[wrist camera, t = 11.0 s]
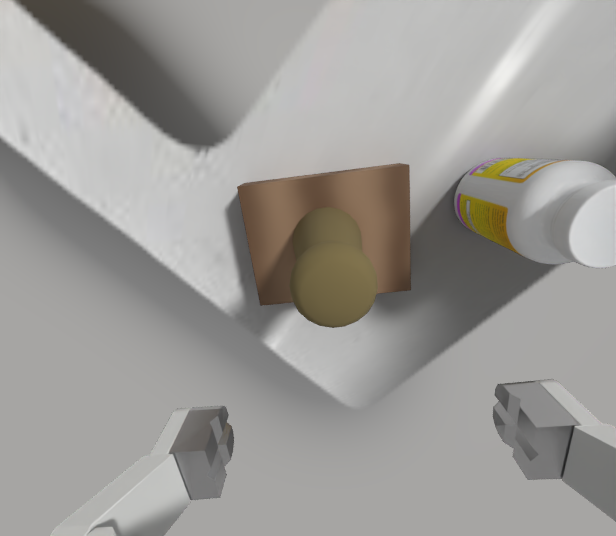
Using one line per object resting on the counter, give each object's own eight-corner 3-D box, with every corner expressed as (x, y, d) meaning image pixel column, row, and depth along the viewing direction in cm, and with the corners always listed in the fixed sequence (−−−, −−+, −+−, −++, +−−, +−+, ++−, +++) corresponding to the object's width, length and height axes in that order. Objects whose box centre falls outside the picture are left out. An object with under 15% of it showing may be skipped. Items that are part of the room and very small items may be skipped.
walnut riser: (399, 163, 28) (409, 164, 25) (402, 277, 32) (410, 290, 29) (244, 183, 29) (237, 186, 26) (265, 292, 33) (260, 305, 30)
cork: (359, 274, 29) (385, 345, 18) (292, 273, 29) (280, 343, 18) (364, 207, 26) (397, 244, 16) (292, 206, 26) (278, 242, 16)
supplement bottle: (495, 242, 30) (614, 304, 18) (437, 213, 29) (522, 256, 17) (542, 177, 28) (711, 198, 16) (480, 143, 27) (611, 138, 15)
